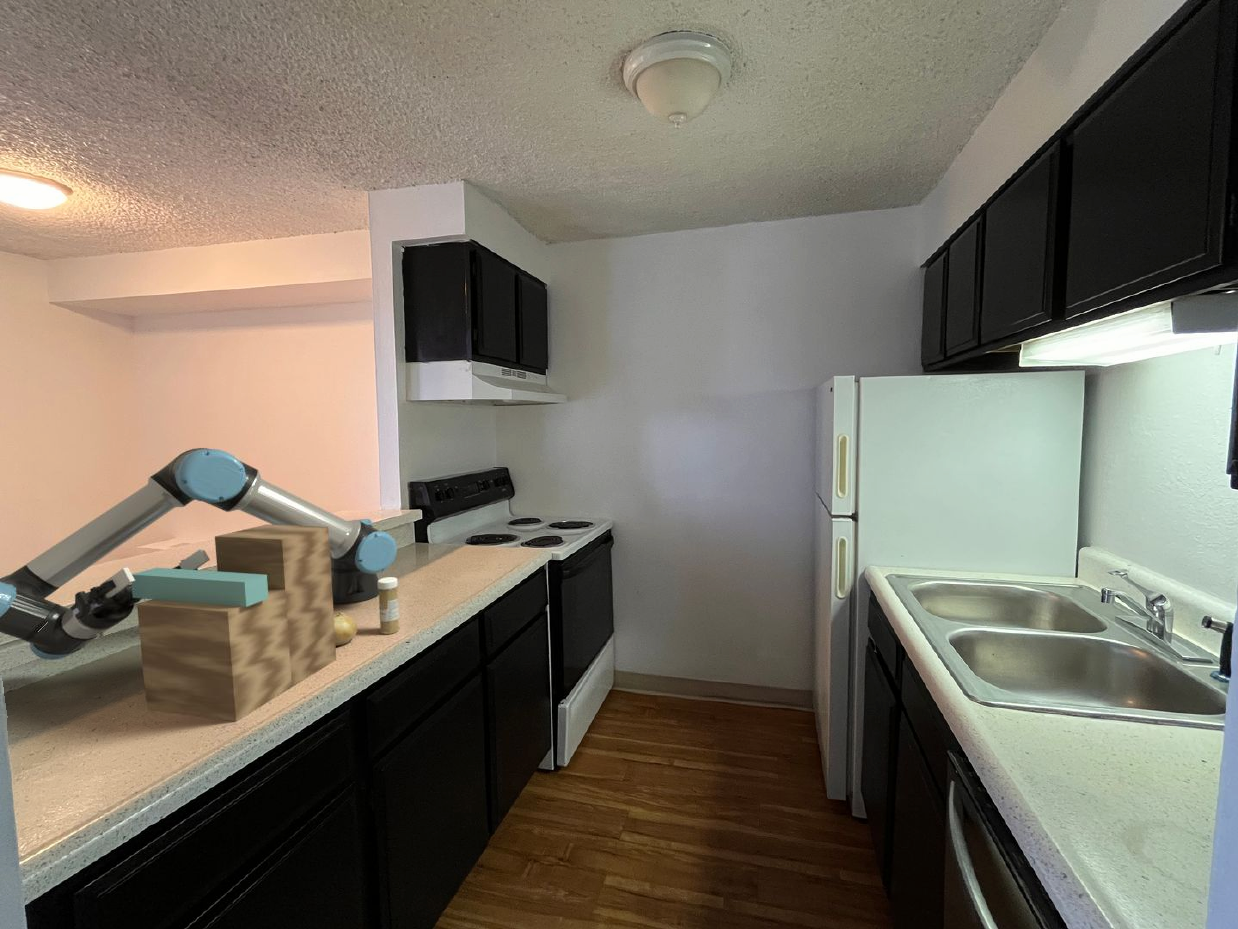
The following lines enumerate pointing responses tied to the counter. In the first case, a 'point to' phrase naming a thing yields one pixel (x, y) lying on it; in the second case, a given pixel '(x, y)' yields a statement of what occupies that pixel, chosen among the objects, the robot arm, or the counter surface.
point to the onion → (344, 628)
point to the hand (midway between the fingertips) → (169, 563)
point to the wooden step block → (243, 628)
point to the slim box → (200, 586)
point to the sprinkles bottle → (388, 605)
